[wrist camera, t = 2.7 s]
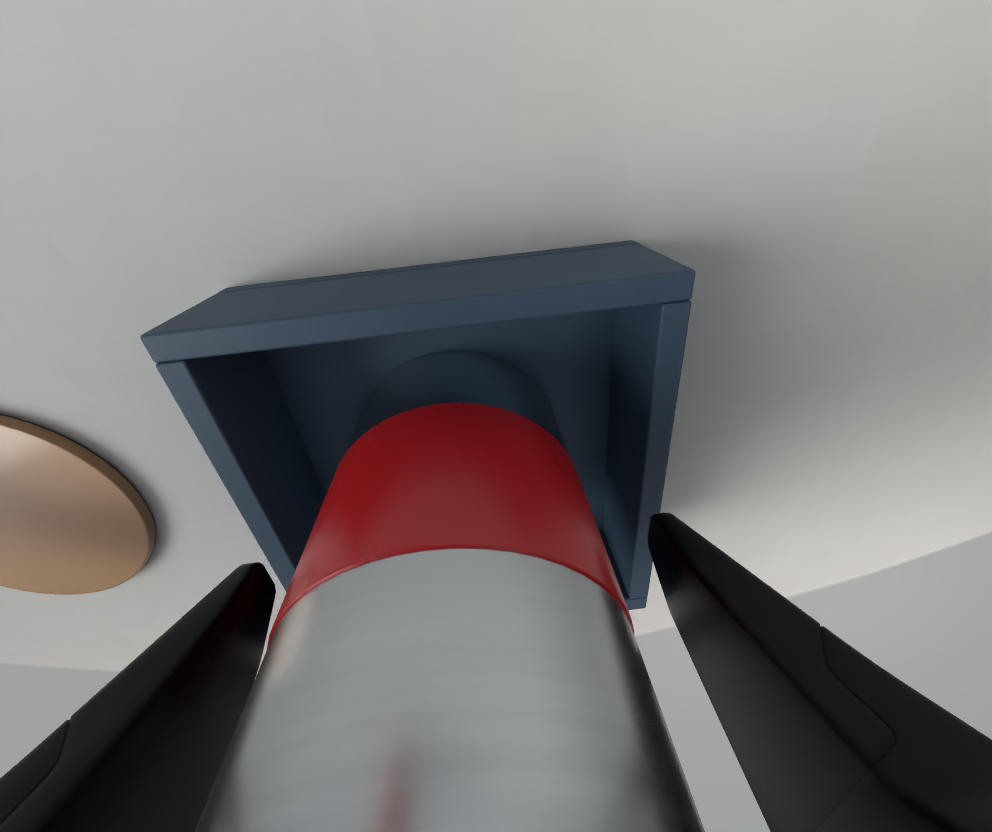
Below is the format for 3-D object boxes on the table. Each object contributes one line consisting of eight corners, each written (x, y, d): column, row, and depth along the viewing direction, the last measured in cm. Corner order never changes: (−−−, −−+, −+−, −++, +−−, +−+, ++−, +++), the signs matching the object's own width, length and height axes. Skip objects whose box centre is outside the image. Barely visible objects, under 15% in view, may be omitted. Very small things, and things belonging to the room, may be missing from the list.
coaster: (197, 572, 16) (191, 581, 16) (-9, 597, 16) (-19, 606, 16) (65, 392, 12) (54, 399, 12) (-213, 425, 12) (-233, 433, 12)
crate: (613, 527, 17) (646, 608, 14) (344, 560, 17) (318, 649, 14) (633, 239, 11) (697, 269, 8) (225, 287, 11) (137, 335, 8)
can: (559, 502, 15) (687, 952, 6) (384, 523, 15) (281, 1004, 6) (555, 335, 12) (804, 810, 3) (330, 362, 12) (-27, 914, 3)
